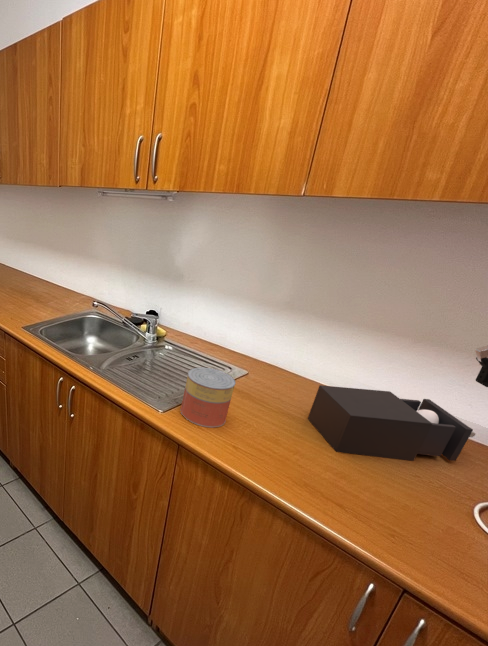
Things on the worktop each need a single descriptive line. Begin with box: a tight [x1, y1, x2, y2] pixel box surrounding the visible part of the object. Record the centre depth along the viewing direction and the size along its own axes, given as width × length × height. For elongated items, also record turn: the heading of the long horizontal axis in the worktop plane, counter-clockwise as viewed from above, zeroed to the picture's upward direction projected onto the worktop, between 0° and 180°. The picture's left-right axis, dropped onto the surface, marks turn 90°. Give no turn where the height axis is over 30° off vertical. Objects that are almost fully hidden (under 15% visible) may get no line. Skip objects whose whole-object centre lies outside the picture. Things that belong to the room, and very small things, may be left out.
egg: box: [417, 410, 439, 424], centre depth 95 cm, size 5×5×7 cm
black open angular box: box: [400, 398, 476, 462], centre depth 95 cm, size 18×12×9 cm
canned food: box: [179, 366, 236, 428], centre depth 107 cm, size 11×11×12 cm
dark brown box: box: [307, 384, 432, 462], centre depth 97 cm, size 16×14×11 cm
